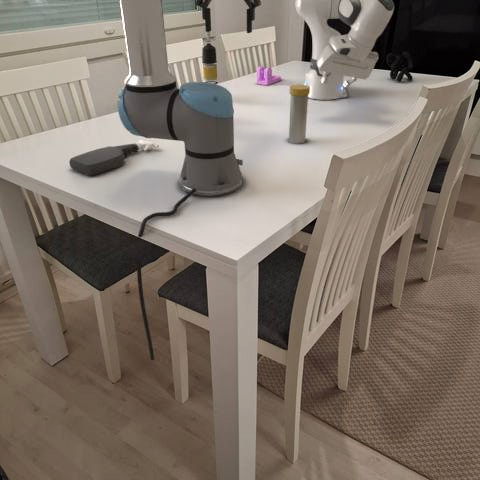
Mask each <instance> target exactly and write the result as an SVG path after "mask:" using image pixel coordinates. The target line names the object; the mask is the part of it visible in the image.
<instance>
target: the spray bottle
mask: <svg viewBox="0 0 480 480" xmlns="http://www.w3.org/2000/svg"><path fill="white" fill-rule="evenodd" d="M159 148H160V145H159V144H158V143H155V142H151V141H148V140H144V139H139V140H138V141H137V142H135V143H129V144H128V143H126V144H122V145H113V146H105V147H100V148H97V149H94V150H90V151H87V152H83V153H81V154H78V155H74V156H73V157H70V159H69V161H68V162H69V167H70V168H71V169H72V170H74V171H75V172H78V173H81V174H83V175H85V176H89V177H90V176H91V177H92V176H95V175H99V174H102V173H105V172H107V171H110V170H113V169H116V168H118V167H120V166H122V165H123V164H124V163H125V158H126V156H127V155H131V154H133V153H138V151H140V150H143V151H144V152H146V151H147V150H149V149H159Z"/></svg>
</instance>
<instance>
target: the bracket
mask: <svg viewBox="0 0 480 480" xmlns="http://www.w3.org/2000/svg"><path fill="white" fill-rule="evenodd" d="M281 80H282V76H281V75H273V69H272V67H265V68H264V66H258V67H257V68H256V85H263V86H269V85H273V84H274V83H277V82H280V81H281Z"/></svg>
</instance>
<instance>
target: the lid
mask: <svg viewBox="0 0 480 480" xmlns="http://www.w3.org/2000/svg"><path fill="white" fill-rule="evenodd" d="M309 93H310V87H309V86H307V85H304V84H292V85H290V86H289V95H290V96H291V95H295V96H305V95H308V94H309Z"/></svg>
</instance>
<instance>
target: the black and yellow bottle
mask: <svg viewBox="0 0 480 480" xmlns="http://www.w3.org/2000/svg"><path fill="white" fill-rule="evenodd" d="M205 33H206V39H207V40H206V42H207V43H206V45H204V46H202V49H201V50H202V51H201V52H202V54H201V55H202V57H201V58H202V61H201V63H202V71H203V72H202V73H203V74H202V75H203V80H204V81H206V82H207V83H214V84H217V85H218V84H219V82H218V81H216V80H218V64H216V63H218V61H217V48H216V47H215V46H214V45H212V43H210V42H211V40H210V39H211V31H210V32H206V31H205Z"/></svg>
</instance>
